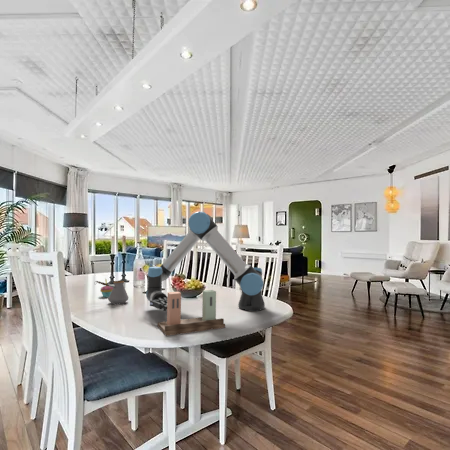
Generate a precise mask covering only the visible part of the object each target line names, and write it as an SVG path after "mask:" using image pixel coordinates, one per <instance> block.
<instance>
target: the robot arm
mask: <svg viewBox="0 0 450 450" xmlns="http://www.w3.org/2000/svg"><path fill="white" fill-rule="evenodd" d="M218 227H219V226H218V225H217V224H216V223H215V221H214V220H213V218H212V217H211V216H210V214H208V213H206V212H205V211H196V212H193V213H192V214H191V215H190V216H189V218H188V233H186V235H185V236H184V237H183V239H181V241H180V242H179V243H178V245H176V247H175V248H174V249H173V251H171V253H170V254H169V255H168V256H167V258H166V259H165V260H164V261H163V263H162V264H161V265H160V266H150V267H148V270H147V291H146V293H145V296H146V298H147V301H148V302H149V306H150V307H154V308H155V309H158V310H163V312H165V311H166V312H167V296H168V295H167V294H165V293H164V292H163V289H162V287H163V286H162V285H163V282H164V281H167V280H168V279H169V278H170V277H171V276H170V275H171V274H172V272H173V271H174V270H175V269H176V268H177V267H178V266H179V265H180V263H181V262H182V261H183V259H185V258H186V256H187V255H188V254H189V252H190V251H191V250H192V249H193V248H194V246H195V245H196V244H197V243H198V241H200V240H201V241H205V242H206V243H207V244H208V245H209V247H210V248H211V249H212V251H214V253H215V254H216V255H217V256H218V258H220V260H221V261H222V262H223V263H224V264H225V266H226V267H227V268H228V269H229V270H230V272H231V273H232V274H233V276H234V278H233V279H234V281H235V282H236V283H237V284H238V286H240V289H241V295H240V298H239V301H238V305H237V306H238V307H239V309H240V308H241V309H240V310H242V309H245V310H244V311H249V310H258V311H261V310H260V309H263V310H265V309H266V307H265V305H266V304H265V302H264V297H263V295H262V293H263V291H262V290H263V288H264V280H263V269H262V267H253V266H252V264H247V263H246V262H245V261H244V259H242V257H241V256H240V255H239V254H238V253H237V252H236V250H235V249H234V248H233V247H232V246H231V245H230V243H229V242H228V240H226V239H225V238H224V236H223V235H222V234H221V233H220V231H218V229H219V228H218ZM238 307H237V308H238ZM264 308H265V309H264Z"/></svg>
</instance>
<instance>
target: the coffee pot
mask: <svg viewBox="0 0 450 450" xmlns="http://www.w3.org/2000/svg"><path fill="white" fill-rule="evenodd" d="M96 284H100V285H102V286H110V287H112V288H113V289H112V292H111V294H110V296H109V297H107V298H108V302H109V303H111V304H112V305H123V304H125V303H126V302H127V301H128V300H129V295H128V293H127V290H126V288H125V286H124V284H125V281H124V280H115V281H113V284H114V285H111V284H108V283H107V284H106V282H101V281H98V280H95V282H94V285H96Z"/></svg>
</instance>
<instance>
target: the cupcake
mask: <svg viewBox="0 0 450 450" xmlns="http://www.w3.org/2000/svg"><path fill="white" fill-rule="evenodd" d="M104 279H105V283H106V284H108V282H107V281H108V280H107V278H104ZM112 289H113V288H112V287H110V286H106V285H103V286H102V287H101V288H100V293H101V294H102V297H103V298H109V296H110V294H111V292H112Z"/></svg>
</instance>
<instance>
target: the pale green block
mask: <svg viewBox="0 0 450 450" xmlns="http://www.w3.org/2000/svg"><path fill="white" fill-rule="evenodd" d="M201 304H202V306H201V308H202V310H201V311H202V312H201V313H202V314H201V316H202V321H206V320H214V319H217V291H216V290H213V289H209V290H206V289H205V290H202V303H201Z"/></svg>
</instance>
